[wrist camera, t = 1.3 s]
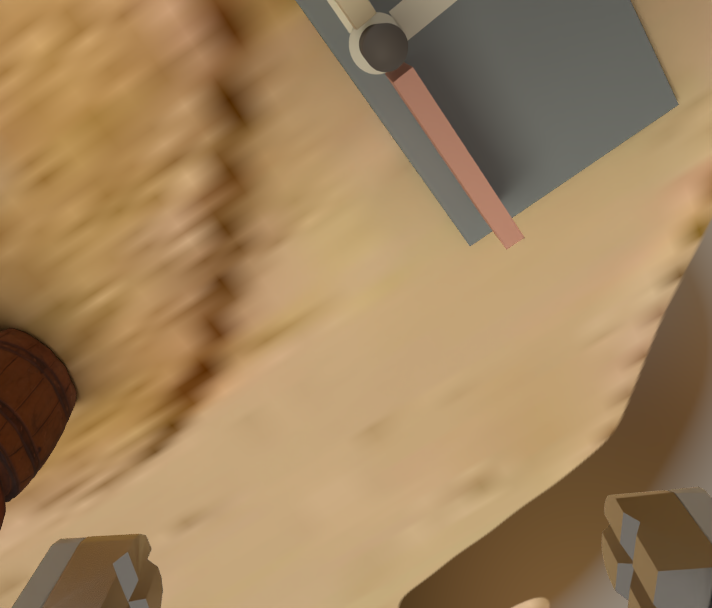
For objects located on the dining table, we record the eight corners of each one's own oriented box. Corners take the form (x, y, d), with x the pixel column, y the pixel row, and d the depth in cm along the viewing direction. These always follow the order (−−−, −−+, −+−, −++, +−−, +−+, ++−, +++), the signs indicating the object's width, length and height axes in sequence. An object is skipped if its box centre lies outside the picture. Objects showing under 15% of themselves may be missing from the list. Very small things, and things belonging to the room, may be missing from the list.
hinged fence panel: (384, 73, 28) (393, 82, 23) (400, 60, 28) (412, 66, 23) (482, 217, 31) (506, 249, 27) (497, 207, 31) (524, 237, 27)
